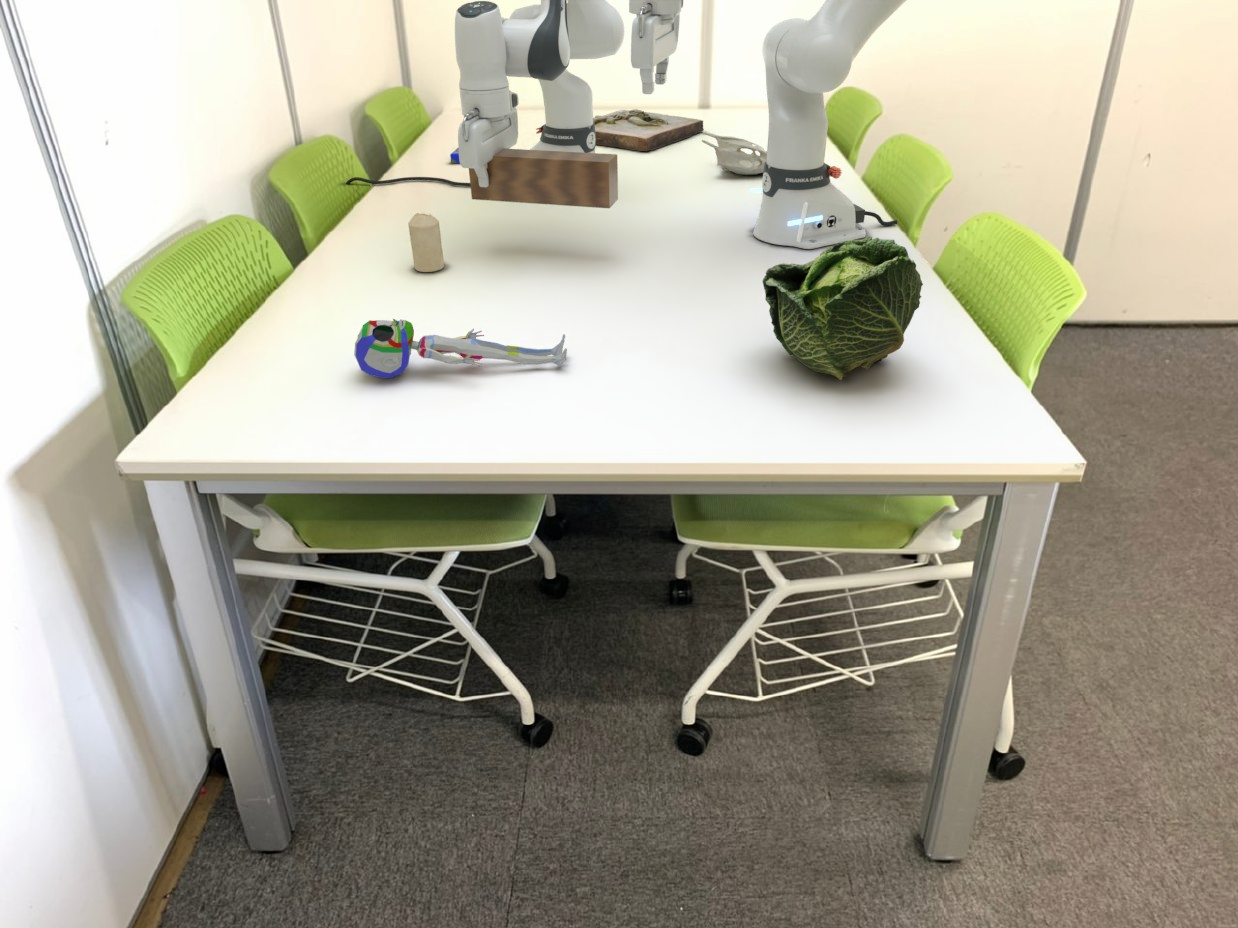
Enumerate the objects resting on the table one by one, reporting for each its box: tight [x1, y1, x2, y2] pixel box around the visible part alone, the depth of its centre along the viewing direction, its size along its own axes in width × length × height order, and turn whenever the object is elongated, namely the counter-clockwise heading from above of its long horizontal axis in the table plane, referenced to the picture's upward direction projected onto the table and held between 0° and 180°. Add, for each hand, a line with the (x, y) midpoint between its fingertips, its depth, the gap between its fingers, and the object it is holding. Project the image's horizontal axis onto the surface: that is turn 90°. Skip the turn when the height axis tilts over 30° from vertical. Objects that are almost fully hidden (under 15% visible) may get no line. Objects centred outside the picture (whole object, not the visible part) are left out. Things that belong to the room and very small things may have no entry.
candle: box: [407, 212, 445, 273], centre depth 166 cm, size 6×6×10 cm
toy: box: [353, 318, 568, 379], centre depth 130 cm, size 10×8×30 cm
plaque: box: [593, 108, 705, 152], centre depth 257 cm, size 30×7×30 cm
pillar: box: [449, 147, 460, 164], centre depth 242 cm, size 2×2×20 cm
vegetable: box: [762, 236, 924, 381], centre depth 127 cm, size 20×19×20 cm
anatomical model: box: [701, 131, 767, 176], centre depth 221 cm, size 15×9×25 cm
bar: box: [468, 148, 619, 209], centre depth 166 cm, size 27×6×8 cm, turn 75°
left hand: (492, 181), depth 169 cm, fingers closed on bar, 6 cm apart
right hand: (654, 88), depth 158 cm, fingers open, 8 cm apart
